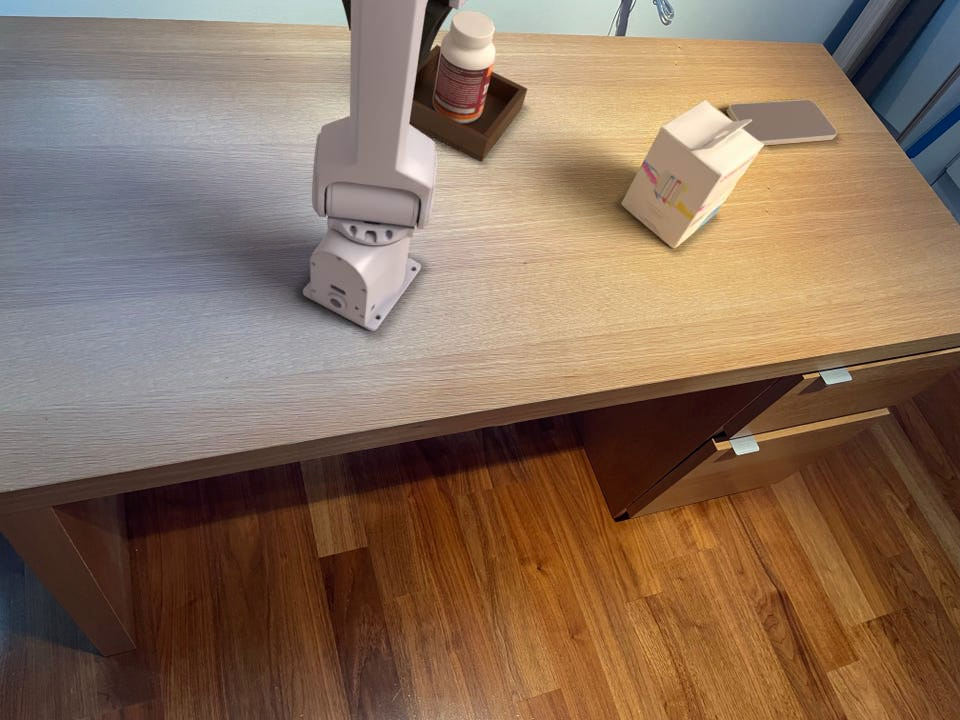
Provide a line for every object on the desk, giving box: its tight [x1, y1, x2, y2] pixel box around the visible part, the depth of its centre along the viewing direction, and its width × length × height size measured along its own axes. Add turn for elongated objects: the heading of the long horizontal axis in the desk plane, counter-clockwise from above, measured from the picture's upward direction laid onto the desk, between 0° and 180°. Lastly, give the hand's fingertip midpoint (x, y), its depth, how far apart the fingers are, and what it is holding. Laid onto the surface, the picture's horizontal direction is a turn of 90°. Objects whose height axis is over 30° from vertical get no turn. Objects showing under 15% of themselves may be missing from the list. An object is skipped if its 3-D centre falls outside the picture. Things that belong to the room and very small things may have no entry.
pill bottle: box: [432, 10, 497, 124], centre depth 77 cm, size 6×6×11 cm
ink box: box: [620, 99, 765, 249], centre depth 75 cm, size 9×8×13 cm
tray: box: [409, 44, 528, 162], centre depth 81 cm, size 12×13×3 cm
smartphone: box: [726, 99, 838, 146], centre depth 93 cm, size 7×1×15 cm
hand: (389, 42), depth 70 cm, fingers open, 7 cm apart
